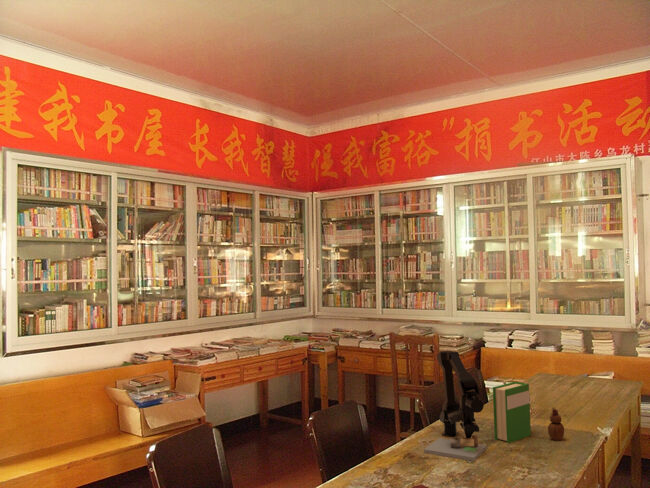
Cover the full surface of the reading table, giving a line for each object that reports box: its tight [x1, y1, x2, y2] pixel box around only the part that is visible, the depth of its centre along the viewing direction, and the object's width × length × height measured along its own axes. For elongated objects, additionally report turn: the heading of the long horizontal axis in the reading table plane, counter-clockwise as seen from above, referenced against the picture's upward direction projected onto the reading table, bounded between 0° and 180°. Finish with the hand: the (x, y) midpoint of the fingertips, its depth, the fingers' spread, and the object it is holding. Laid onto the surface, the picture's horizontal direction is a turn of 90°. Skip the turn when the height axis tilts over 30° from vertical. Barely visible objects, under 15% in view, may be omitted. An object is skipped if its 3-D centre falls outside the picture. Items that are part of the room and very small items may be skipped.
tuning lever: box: [449, 434, 479, 448], centre depth 245 cm, size 12×4×4 cm, turn 91°
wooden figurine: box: [547, 407, 565, 441], centre depth 256 cm, size 7×6×15 cm
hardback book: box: [492, 381, 532, 444], centre depth 261 cm, size 18×7×24 cm, turn 128°
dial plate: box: [423, 437, 488, 462], centre depth 244 cm, size 18×22×2 cm
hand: (467, 441), depth 247 cm, fingers closed
